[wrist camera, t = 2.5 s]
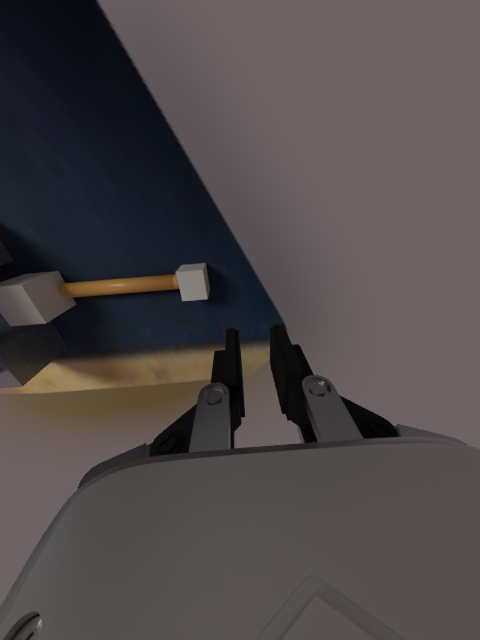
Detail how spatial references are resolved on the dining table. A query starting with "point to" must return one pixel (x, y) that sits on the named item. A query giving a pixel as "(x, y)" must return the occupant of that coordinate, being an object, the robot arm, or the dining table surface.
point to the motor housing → (25, 346)
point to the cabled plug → (87, 292)
